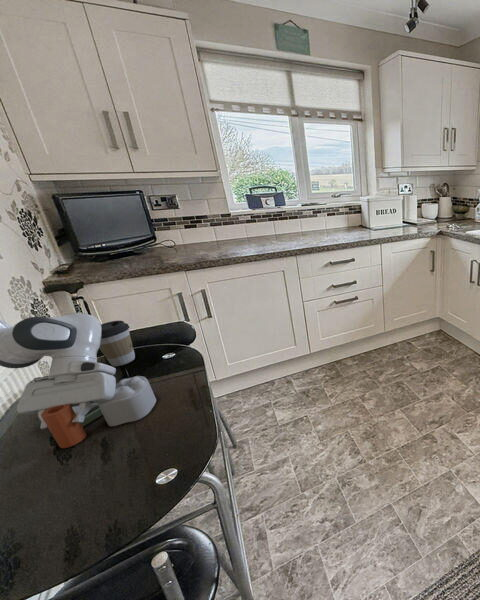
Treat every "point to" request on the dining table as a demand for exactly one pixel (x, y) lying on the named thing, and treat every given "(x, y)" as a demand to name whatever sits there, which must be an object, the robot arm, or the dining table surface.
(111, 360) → the coffee cup
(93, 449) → the dining table surface
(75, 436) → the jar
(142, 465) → the dining table surface
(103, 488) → the dining table surface
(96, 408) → the scale
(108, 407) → the lumpy-topped squat cylinder
